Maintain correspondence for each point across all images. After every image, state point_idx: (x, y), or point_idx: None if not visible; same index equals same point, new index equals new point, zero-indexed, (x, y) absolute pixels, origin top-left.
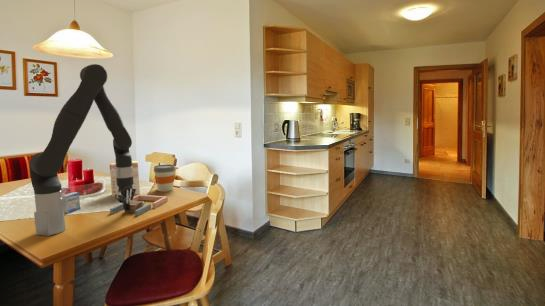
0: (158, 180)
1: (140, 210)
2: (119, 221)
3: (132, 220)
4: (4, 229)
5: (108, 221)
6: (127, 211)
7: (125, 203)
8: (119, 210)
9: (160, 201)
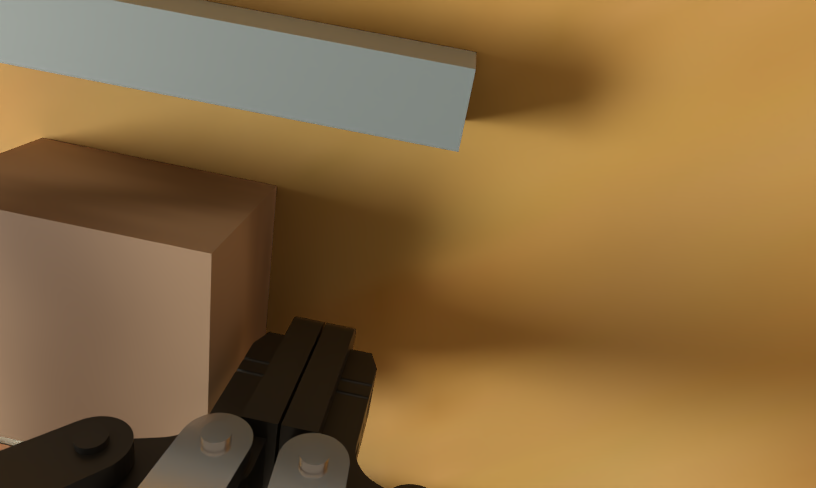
0: None
1: (356, 41)
2: (778, 279)
3: (774, 43)
4: None
5: (735, 439)
6: None
7: (363, 473)
8: None
9: None
